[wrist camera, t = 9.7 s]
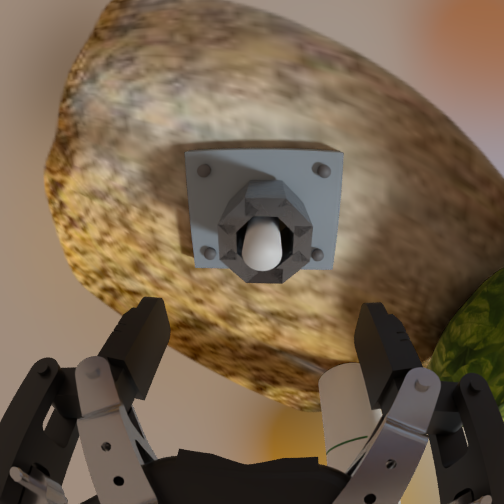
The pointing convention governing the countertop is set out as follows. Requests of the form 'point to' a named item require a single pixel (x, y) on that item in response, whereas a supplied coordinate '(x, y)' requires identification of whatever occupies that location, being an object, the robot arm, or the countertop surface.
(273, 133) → the countertop surface
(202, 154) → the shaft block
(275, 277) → the collar
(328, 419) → the cylindrical container
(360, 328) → the robot arm
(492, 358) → the lettuce
